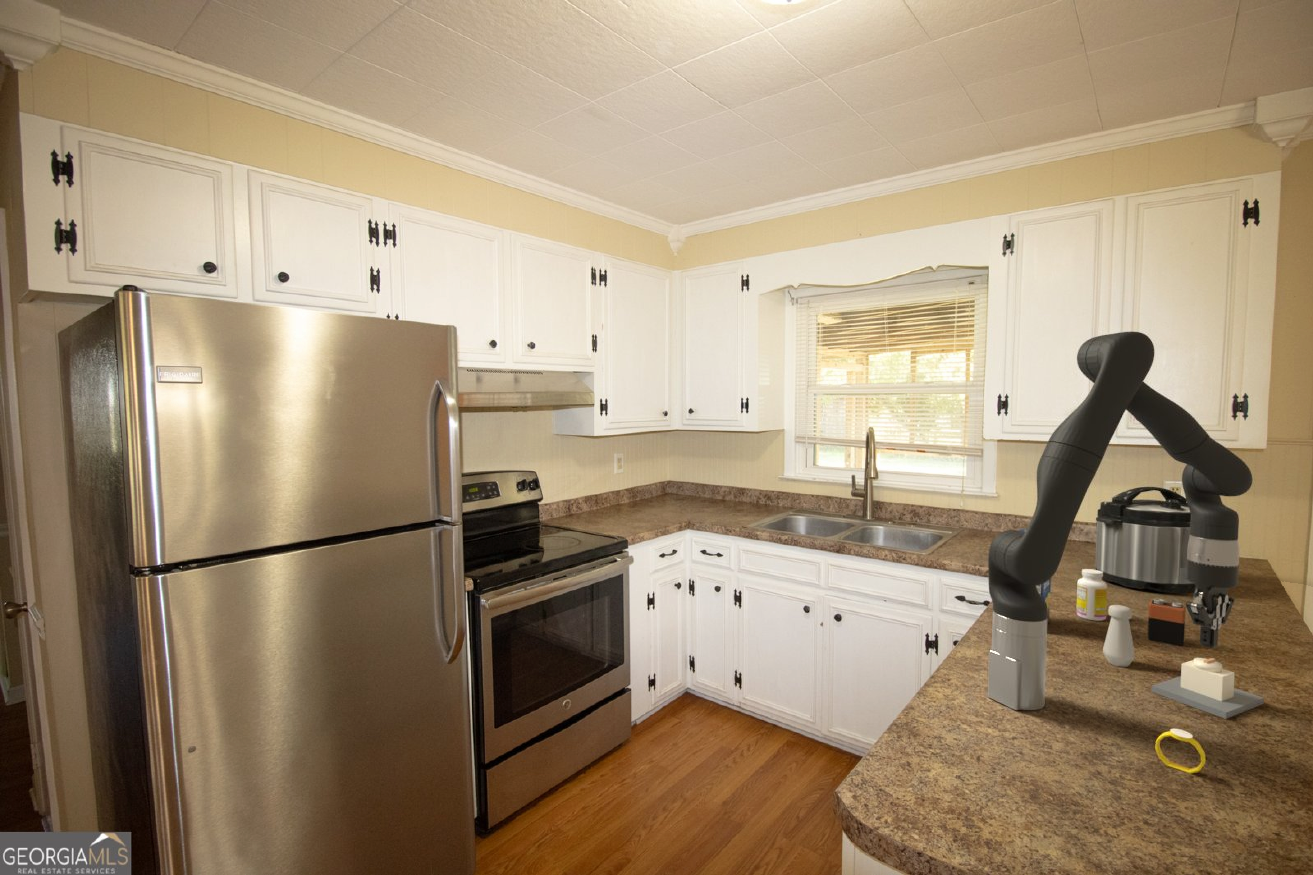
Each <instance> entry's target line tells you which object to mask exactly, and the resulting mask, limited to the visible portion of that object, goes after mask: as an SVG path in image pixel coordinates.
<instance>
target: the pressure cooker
mask: <svg viewBox="0 0 1313 875" xmlns="http://www.w3.org/2000/svg"><path fill="white" fill-rule="evenodd" d="M1151 491H1157V492H1159V493H1160V494H1161V496H1162V497H1163V499H1164V500H1157V499H1136V498H1137V497H1138V496H1139V495H1140V494H1142V493H1147V492H1151ZM1095 521H1096V527H1095V528H1096V536H1095V538H1096V540H1095V565H1094V566H1095V570H1098V571H1101V572H1103V577H1102V580H1105V582H1111V583H1115V584H1118V585H1121V586H1124V587H1128V588H1132V589H1137V590H1146V589H1148V590H1153V591H1157V592H1163V593H1171V594H1172V593H1173V594H1187V593H1192V592H1193V593H1194V591H1195V587H1196V585H1195V584H1194V583H1193V582H1190V581H1189V580H1187V578H1186V574H1187V551H1188V542H1189V538H1190V522H1191V513H1190V510H1189V507H1188V504H1187V500H1186V497H1184V496H1183V495H1181V494H1179V493H1178V492H1175V491H1173V490H1171V489H1167V488H1164V487H1158V486H1141V487H1134V488H1130V489H1127V490H1125V491H1122V492H1120V493H1118V494H1116V495H1114V496H1113V497H1111V500H1107V501H1101V502H1100V506H1099V509H1097V514H1096V517H1095Z"/></svg>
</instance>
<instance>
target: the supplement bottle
mask: <svg viewBox="0 0 1313 875" xmlns="http://www.w3.org/2000/svg"><path fill="white" fill-rule="evenodd" d="M1081 576H1082V577H1081V578H1079V579H1078V580H1077V585H1076V586H1077V587H1076V589H1077V590H1076V614H1077V615H1078V617H1080V618H1082V619H1084V620H1091V621H1098V622H1099V621H1101V622H1102V621H1105V620H1107V610H1108V609H1107V608H1108V606H1107V600H1108V598H1107V597H1108V595H1107V594H1108V592H1107V591H1108V584H1107V583H1106V581H1103V579H1102V577H1103V572H1101V571H1098V570H1096V569H1093V568H1092V569H1090V568H1082V569H1081Z"/></svg>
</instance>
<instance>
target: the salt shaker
mask: <svg viewBox="0 0 1313 875" xmlns="http://www.w3.org/2000/svg"><path fill="white" fill-rule="evenodd" d="M1107 611H1108V615H1109V616H1110V621H1109V624H1108V628H1107V632H1106V636H1105V638H1104V639H1105V640H1104V644H1103V647H1102V654H1103V655H1104V656H1105V658H1106V660H1107V662H1108V664H1110V665H1113V666H1116V667H1122V668H1123V667H1124V668H1127V667H1129V666H1130V665H1131V664H1132V662H1133V661H1134V659H1135V657H1136V655H1135V654H1136V653H1135V648H1134V642H1133V636H1132V631H1131V625H1130V619H1132V617H1133V610H1132V609H1131V608H1130V607H1128V606H1125V605H1121V604H1111V605H1110V606H1108V609H1107Z"/></svg>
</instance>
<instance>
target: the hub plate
mask: <svg viewBox="0 0 1313 875" xmlns="http://www.w3.org/2000/svg"><path fill="white" fill-rule="evenodd" d="M1150 687H1151V688H1150V689H1151V690H1150V691H1151V693H1155V694H1158V695H1159V696H1162V697H1164V698H1169V699H1170V700H1173V701H1176V702H1178V703H1181V704H1184V705H1187V706H1190V707H1192V708H1194V709H1197V710H1200V711H1203V712H1205V713H1208V714H1212V715H1214V716H1217V717H1219V718H1222V719H1224V720H1227V719H1229V718H1231V717H1235V716H1236V715H1237V716H1238V715H1240V714H1241V713H1244V712H1247V711H1249V710H1252V709H1254V708H1257V707H1259V706H1262V705H1264V702H1265V697H1263V696H1260V695H1258V694H1254V693H1252V692H1251V693H1250V692H1247V691H1245V690H1241V689H1238V688H1235V687H1234V697H1232V698H1229V699H1226V700H1224V701H1219V700H1216V699H1214V698H1211V697H1208V696H1205V695H1202V694H1199V693H1197V692H1194V691H1191V690H1188V689H1185V688H1182V687H1181V675H1180V676H1177V677H1173V678H1171V679H1167V680H1165V681H1161V682H1159V683H1156V684H1153V685H1151V686H1150Z"/></svg>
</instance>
